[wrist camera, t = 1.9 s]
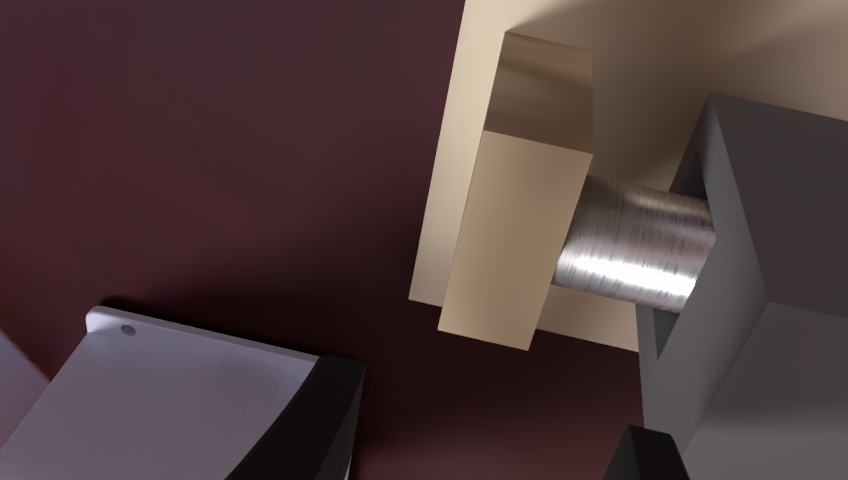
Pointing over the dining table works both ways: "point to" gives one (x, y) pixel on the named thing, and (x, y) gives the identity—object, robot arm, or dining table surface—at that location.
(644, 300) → the pipe
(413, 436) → the dining table surface
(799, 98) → the pipe stand
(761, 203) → the collar
